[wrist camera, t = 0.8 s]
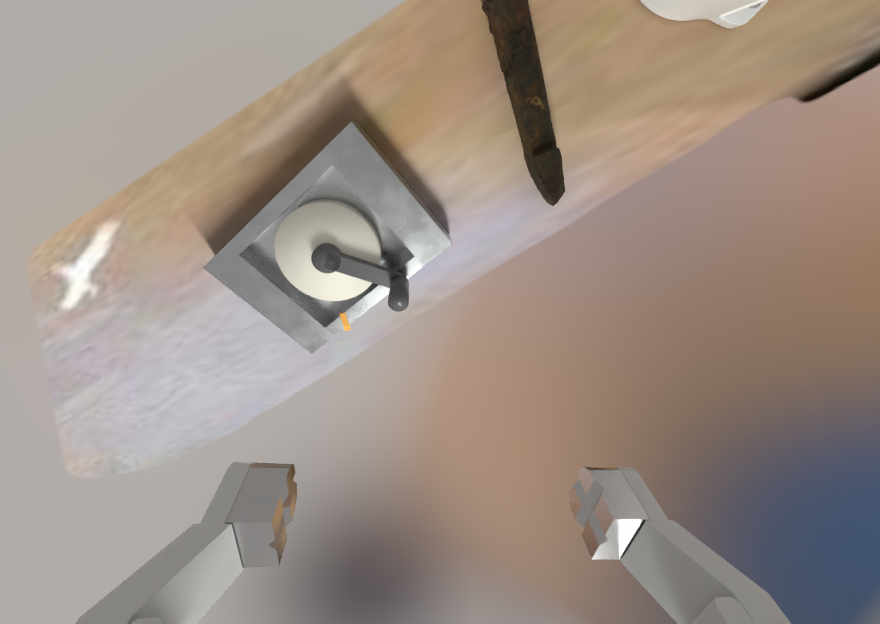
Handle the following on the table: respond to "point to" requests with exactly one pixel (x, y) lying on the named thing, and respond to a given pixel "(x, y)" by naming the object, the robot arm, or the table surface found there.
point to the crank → (335, 254)
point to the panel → (355, 183)
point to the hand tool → (527, 92)
